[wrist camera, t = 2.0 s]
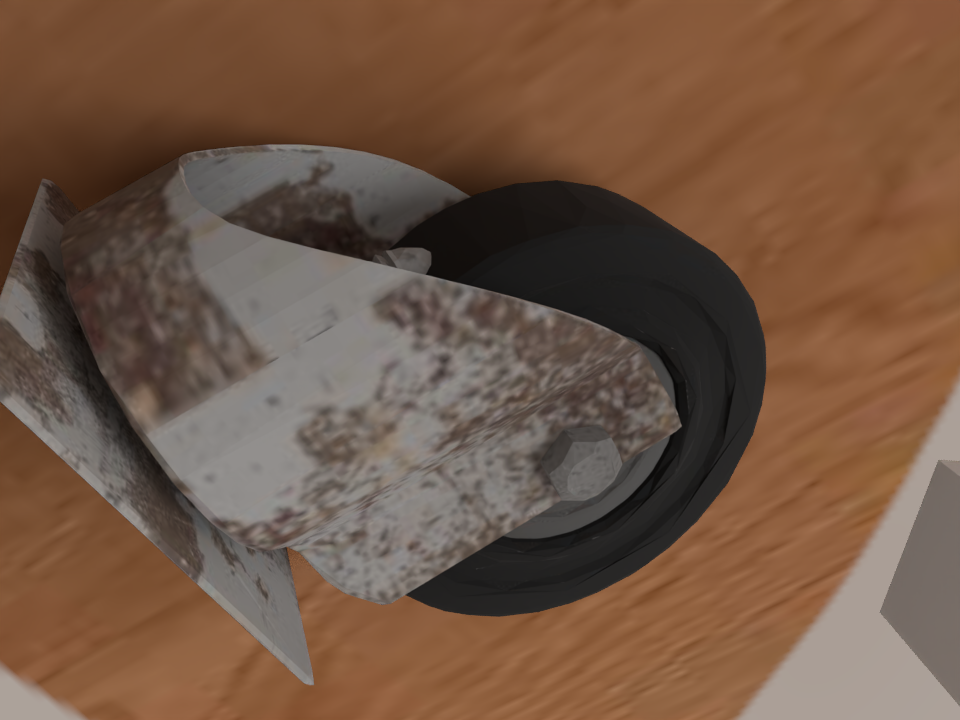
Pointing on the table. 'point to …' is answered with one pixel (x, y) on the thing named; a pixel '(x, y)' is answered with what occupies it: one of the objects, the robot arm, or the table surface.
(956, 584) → the robot arm
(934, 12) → the table surface
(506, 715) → the table surface
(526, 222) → the caster wheel
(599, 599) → the table surface
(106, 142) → the table surface
